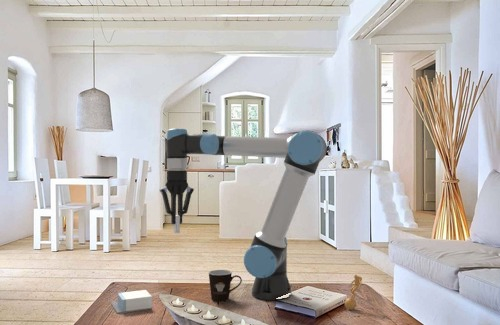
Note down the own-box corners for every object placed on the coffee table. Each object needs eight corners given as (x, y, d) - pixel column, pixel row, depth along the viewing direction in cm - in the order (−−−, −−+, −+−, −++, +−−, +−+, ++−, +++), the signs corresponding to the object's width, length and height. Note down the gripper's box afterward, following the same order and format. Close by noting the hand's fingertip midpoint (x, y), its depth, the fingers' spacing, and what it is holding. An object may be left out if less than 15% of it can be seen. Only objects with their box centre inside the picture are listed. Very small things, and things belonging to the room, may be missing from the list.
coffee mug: (204, 301, 171) (204, 273, 171) (214, 295, 179) (214, 268, 179) (233, 304, 166) (233, 276, 166) (242, 298, 174) (242, 271, 174)
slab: (145, 289, 169) (117, 293, 165) (151, 296, 161) (122, 299, 157) (145, 300, 169) (117, 304, 165) (151, 307, 161) (122, 311, 157)
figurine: (341, 306, 165) (341, 272, 165) (357, 305, 166) (357, 271, 166) (348, 313, 157) (348, 277, 157) (366, 313, 157) (366, 277, 157)
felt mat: (141, 299, 173) (141, 298, 173) (149, 309, 161) (149, 308, 161) (110, 303, 168) (110, 302, 168) (117, 313, 156) (117, 312, 156)
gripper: (190, 169, 181) (190, 230, 181) (157, 169, 176) (157, 232, 176) (196, 170, 175) (196, 233, 174) (162, 170, 169) (162, 235, 169)
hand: (176, 232), depth 175 cm, fingers closed
